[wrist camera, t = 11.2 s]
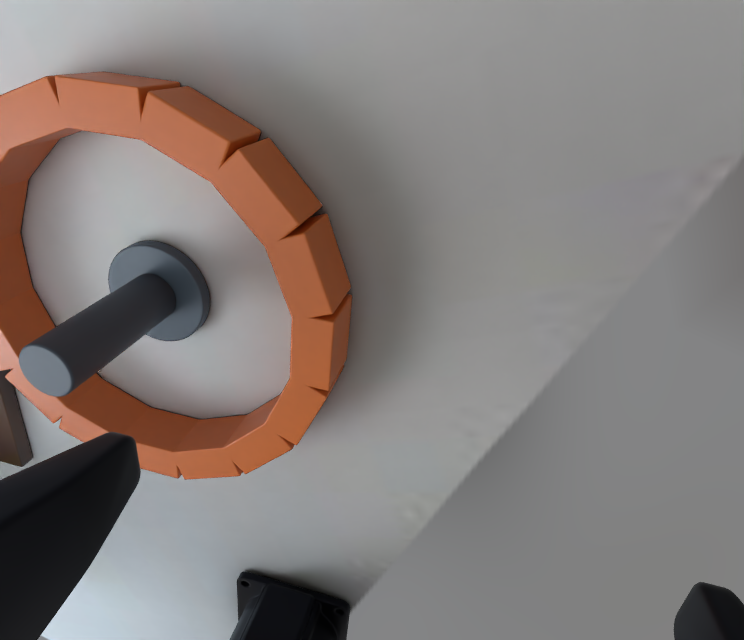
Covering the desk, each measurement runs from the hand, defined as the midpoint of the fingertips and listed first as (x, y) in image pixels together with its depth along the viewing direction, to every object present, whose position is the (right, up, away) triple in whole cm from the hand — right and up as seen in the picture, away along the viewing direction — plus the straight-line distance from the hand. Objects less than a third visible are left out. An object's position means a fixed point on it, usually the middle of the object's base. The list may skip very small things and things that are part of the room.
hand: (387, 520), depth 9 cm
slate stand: (-9, +4, +14) cm, 18 cm away
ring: (-9, +4, +14) cm, 18 cm away
